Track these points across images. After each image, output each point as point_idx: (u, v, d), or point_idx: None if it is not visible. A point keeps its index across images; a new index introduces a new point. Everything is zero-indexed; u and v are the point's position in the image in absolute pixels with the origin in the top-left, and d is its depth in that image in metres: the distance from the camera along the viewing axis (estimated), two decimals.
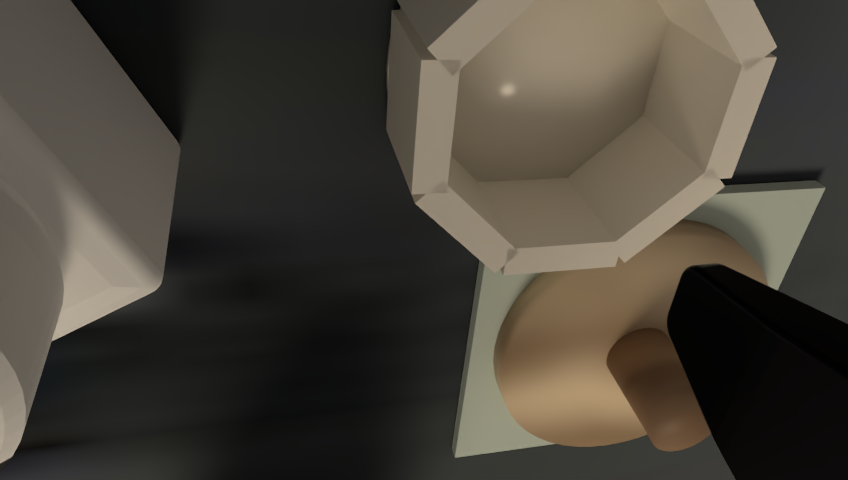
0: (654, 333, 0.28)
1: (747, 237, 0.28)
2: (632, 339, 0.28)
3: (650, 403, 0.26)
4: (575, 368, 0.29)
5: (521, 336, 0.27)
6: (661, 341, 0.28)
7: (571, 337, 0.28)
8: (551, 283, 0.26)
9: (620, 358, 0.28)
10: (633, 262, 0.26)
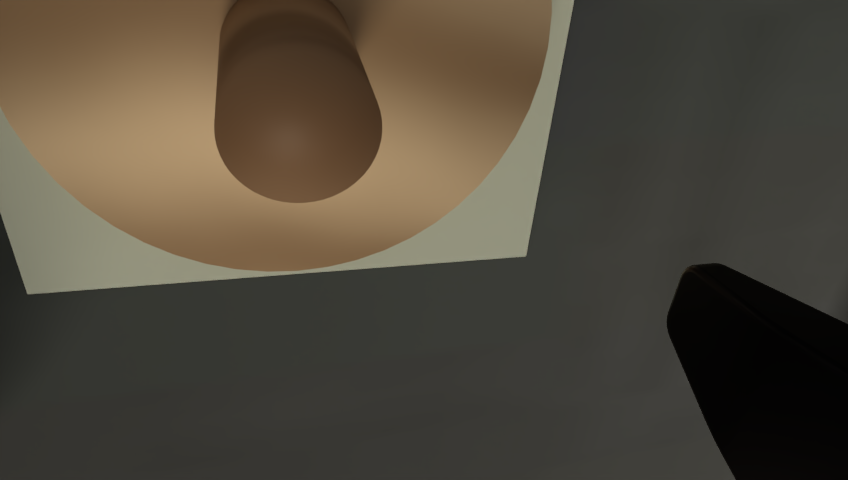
0: None
1: None
2: None
3: (220, 82, 0.12)
4: (155, 74, 0.15)
5: None
6: None
7: None
8: None
9: (222, 36, 0.14)
10: None
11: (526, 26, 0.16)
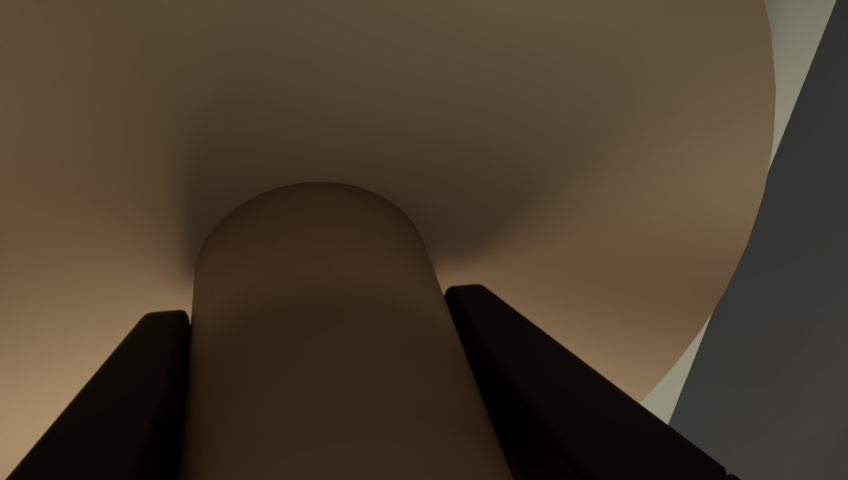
0: (335, 198, 0.07)
1: None
2: (244, 220, 0.07)
3: None
4: (80, 335, 0.08)
5: None
6: (348, 221, 0.07)
7: None
8: None
9: (198, 294, 0.07)
10: None
11: (718, 218, 0.09)
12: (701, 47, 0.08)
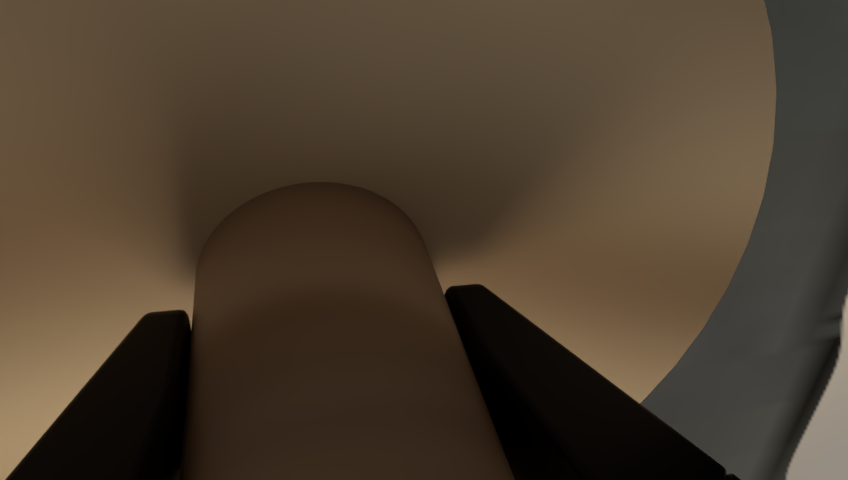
0: (336, 198, 0.07)
1: None
2: (245, 220, 0.07)
3: None
4: (81, 336, 0.08)
5: None
6: (349, 222, 0.07)
7: None
8: None
9: (199, 294, 0.07)
10: None
11: (718, 219, 0.09)
12: (702, 47, 0.08)
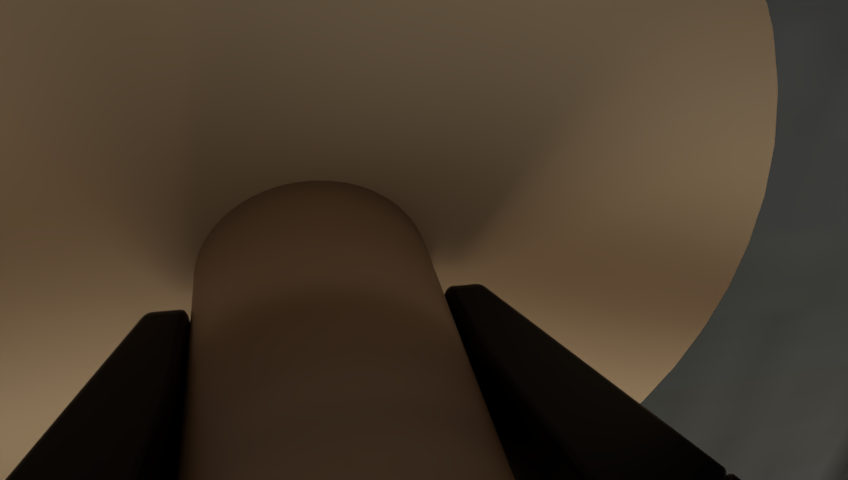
0: (335, 197, 0.07)
1: None
2: (244, 219, 0.07)
3: None
4: (79, 335, 0.08)
5: None
6: (348, 220, 0.07)
7: None
8: None
9: (197, 293, 0.07)
10: None
11: (720, 217, 0.09)
12: (703, 44, 0.08)
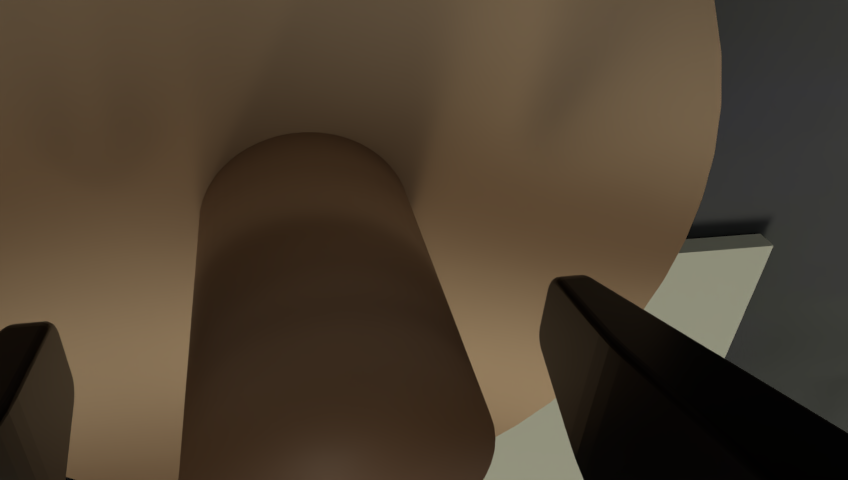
0: (324, 146, 0.08)
1: (663, 316, 0.20)
2: (244, 164, 0.08)
3: (192, 378, 0.06)
4: (96, 272, 0.09)
5: None
6: (335, 163, 0.08)
7: (16, 151, 0.08)
8: None
9: (203, 229, 0.08)
10: None
11: (674, 173, 0.10)
12: (651, 12, 0.09)
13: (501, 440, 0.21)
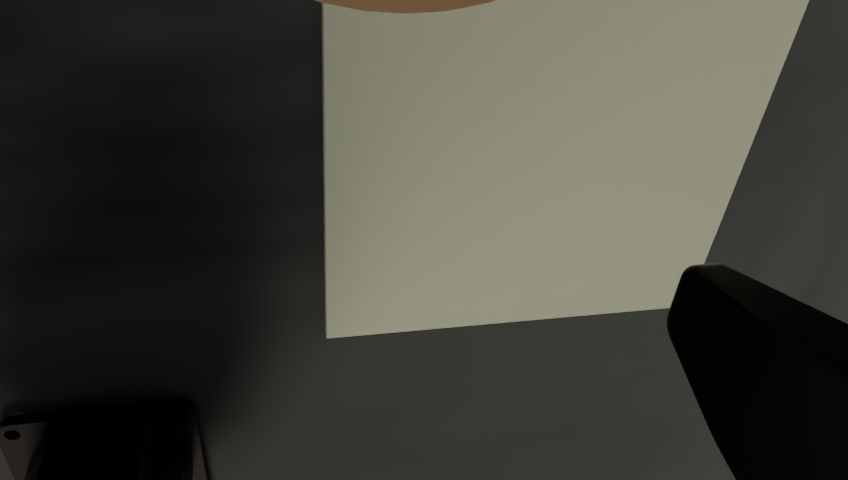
0: None
1: (726, 0, 0.19)
2: None
3: None
4: None
5: None
6: None
7: None
8: None
9: None
10: None
11: None
12: None
13: (554, 148, 0.21)
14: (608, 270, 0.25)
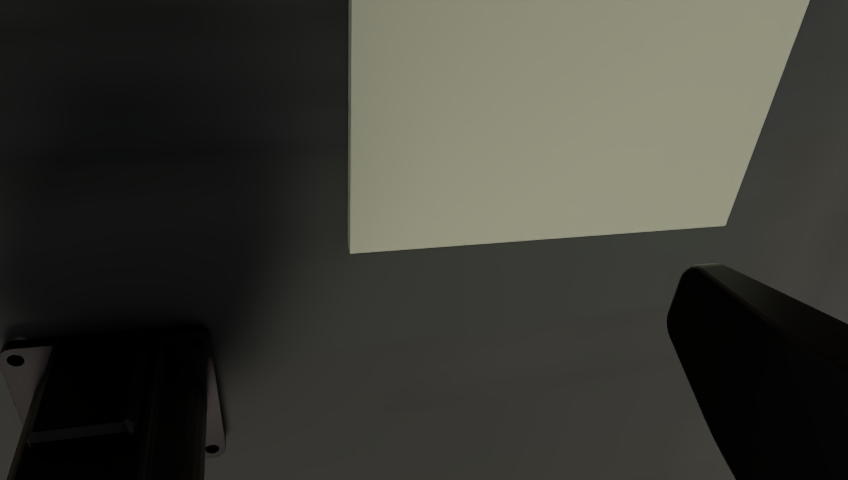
0: None
1: None
2: None
3: None
4: None
5: None
6: None
7: None
8: None
9: None
10: None
11: None
12: None
13: (592, 34, 0.20)
14: (645, 181, 0.24)
